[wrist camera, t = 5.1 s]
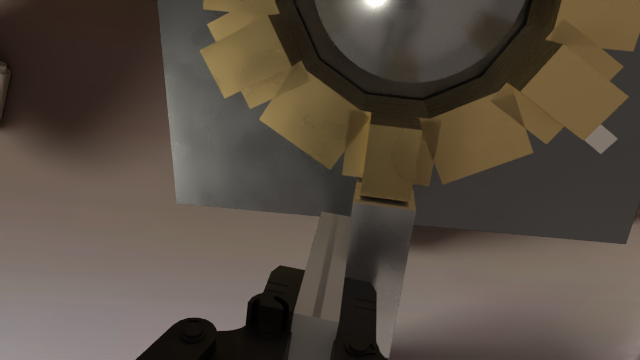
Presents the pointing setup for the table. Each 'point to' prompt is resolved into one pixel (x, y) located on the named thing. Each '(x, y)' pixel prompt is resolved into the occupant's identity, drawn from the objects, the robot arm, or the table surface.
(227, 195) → the base plate
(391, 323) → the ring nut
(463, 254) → the table surface
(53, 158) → the table surface
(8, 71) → the pneumatic valve
